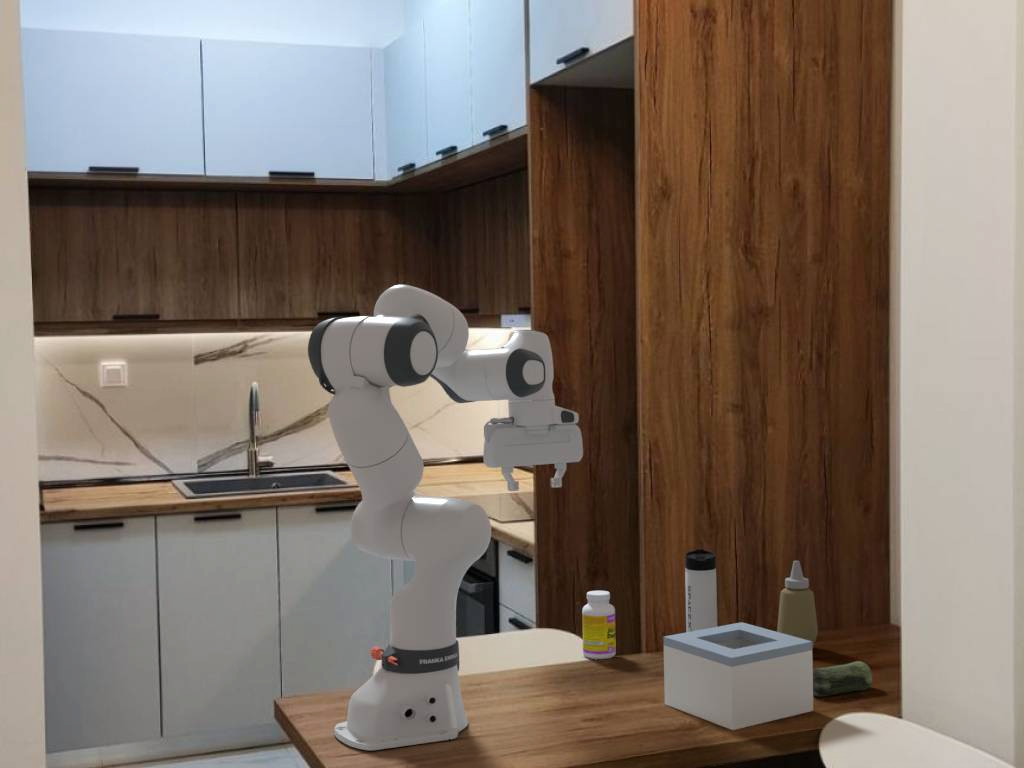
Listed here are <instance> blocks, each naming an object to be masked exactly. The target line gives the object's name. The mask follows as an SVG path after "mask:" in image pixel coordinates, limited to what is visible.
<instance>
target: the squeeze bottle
mask: <svg viewBox="0 0 1024 768" xmlns="http://www.w3.org/2000/svg"><path fill="white" fill-rule="evenodd" d="M809 586H810V585H809V579H808V578H806V577H804V575H803V571H802V566H801V563H800V560H793V563H792V567H791V571H790V577H785V579H784V587H785V588H783V589H782V590H781V591H780V596H779V607H778V618H777V619H778V620H777V629H776V630H777V631H776V632H779V633H783V634H787V635H790V636H794V637H798V638H801V639H805V640H809V641H812V650H813V649H814V647H815V646H814V645H815V643H816V640H817V636H818V633H819V628H818V621H817V612H816V604H815V595H814V592H813V591H812V590H811V589H810V588H809Z"/></svg>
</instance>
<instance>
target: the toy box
mask: <svg viewBox="0 0 1024 768" xmlns="http://www.w3.org/2000/svg"><path fill="white" fill-rule="evenodd" d="M813 666H814V665H813V649H812V641H809V640H805V639H801V638H798V637H794V636H790V635H787V634H783V633H779V632H777V631H776V630H775V631H774V630H771V629H768V628H765V627H760V626H757V625H754V624H749V623H746V622H736V623H735V622H734V623H731V624H725V625H724V624H723V625H720V626H718V625H717V627H713V628H707V629H702V630H697V631H691V632H681V633H676V634H670V635H665V636H663V682H664V685H663V686H664V693H663V694H664V705H666V706H669V707H672V708H674V709H676V710H679V711H682V712H685V713H687V714H689V715H692V716H694V717H698V718H699V719H703V720H704V721H708V722H711V723H712V724H715V725H718V726H720V727H724V728H726V729H728V730H731V731H735V730H739V729H740V730H741V729H743V728H747V727H751V726H755V725H761V724H764V723H768V722H773V721H778V720H780V719H785V718H788V717H794V716H797V715H802V714H806V713H811V712H813V711H814V695H813V669H814V667H813Z"/></svg>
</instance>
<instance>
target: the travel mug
mask: <svg viewBox="0 0 1024 768" xmlns="http://www.w3.org/2000/svg"><path fill="white" fill-rule="evenodd" d="M684 559H685V560H684V561H685V566H684V570H685V571H684V572H685V573H684V574H685V575H684V578H685V583H684V585H685V586H684V587H685V621H686V622H685V625H686V627H685V628H686V629H685V630H686V632H691V631H697V630H702V629H707V628H713V627H718V599H717V596H718V595H717V593H718V591H717V565H716V563H717V561H716V553H715V552H713V551H710V550H704V548H695V550H691V551H687V552H686V553H685V554H684ZM686 632H685V633H686Z"/></svg>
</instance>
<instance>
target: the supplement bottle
mask: <svg viewBox="0 0 1024 768" xmlns="http://www.w3.org/2000/svg"><path fill="white" fill-rule="evenodd" d="M586 599H587V604H585V605H584V606H583V607H582V611H581V616H582V654H583V656H584V657H585V658H588V659H594V660H605V659H611V658H613V657H614V656H615V655H616V651H617V648H616V646H617V642H616V640H617V639H616V638H617V637H616V635H617V634H616V608H615V606H614V605H612V604H611V603H610V599H611V593H610V592H609V591H607V590H590V591H587V592H586Z"/></svg>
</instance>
